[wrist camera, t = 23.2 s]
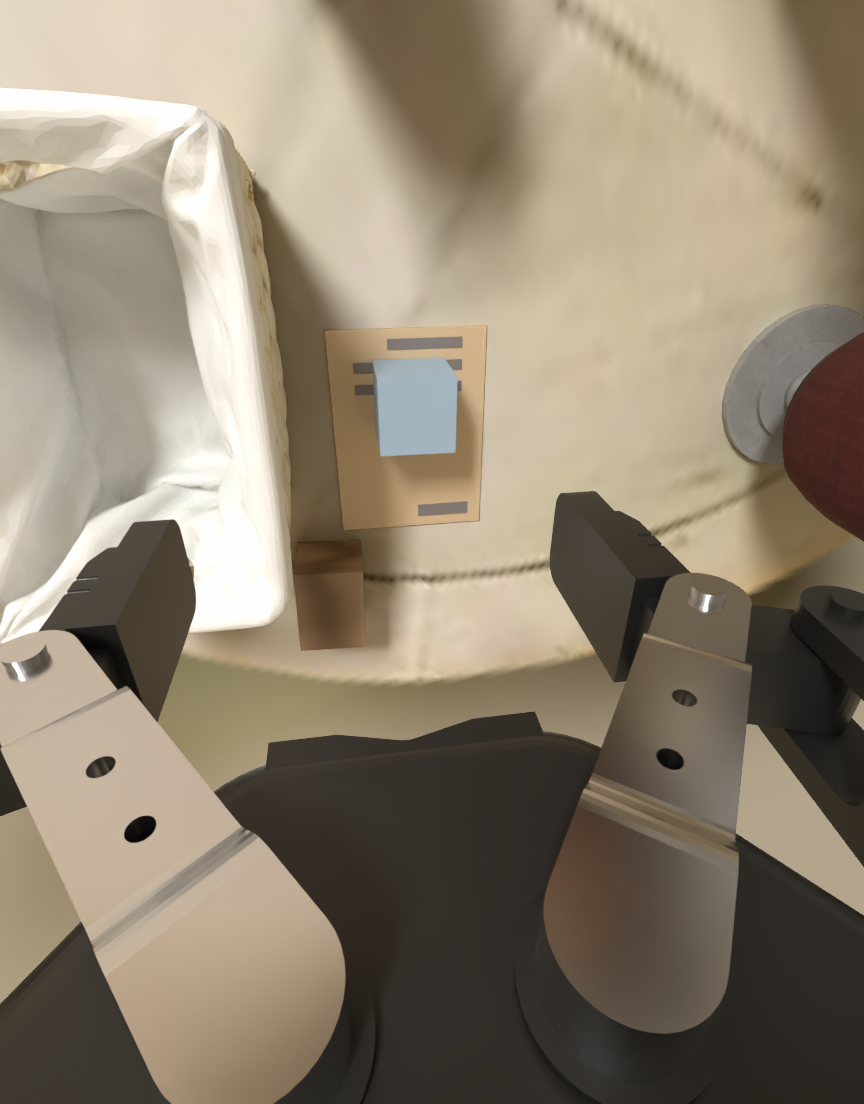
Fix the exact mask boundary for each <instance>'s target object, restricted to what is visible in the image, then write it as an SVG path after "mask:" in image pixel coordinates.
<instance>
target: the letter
mask: <svg viewBox="0 0 864 1104" xmlns="http://www.w3.org/2000/svg"><path fill="white" fill-rule="evenodd" d="M324 331H325V342H326V352H327V363H328V373H329V384H330V395H331V405H332V416H333V426H334V437H335V448H336V458H337V469H338V479H339V490H340V501H341V511H342V522H343V530H355V529H369V528H382V527H396V526H409V525H423V524H436V523H450V522H464V521H477V520H479V505H480V481H481V456H482V432H483V408H484V383H485V359H486V335H487V326H454V327H421V328H388V329H355V330H324ZM424 358H445V360H446V361H447V362H448V364H449V365H450V367H451V368H452V370H453V371H454V372H455V374H456V375H457V377H458V379H457V415H456V451H455V453H437V454H418V455H398V456H380V451H379V446H378V440H377V435H376V429H375V408H374V387H373V367H372V360H391V359H424Z"/></svg>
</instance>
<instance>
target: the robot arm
mask: <svg viewBox="0 0 864 1104" xmlns="http://www.w3.org/2000/svg"><path fill="white" fill-rule="evenodd" d="M550 569H551V575H552V578H553V581H554V583H555V585H556V587H557V588H558V590H559V592H560V593H561V595H562V596H563V598H564V600H565V601H566V603H567V605H568V606H569V608H570V610H571V611H572V613H573V615H574V616H575V618H576V620H577V621H578V623H579V625H580V626H581V628H582V630H583V631H584V633H585V635H586V636H587V638H588V640H589V641H590V643H591V645H592V646H593V648H594V650H595V651H596V653H597V655H598V656H599V658H600V660H601V661H602V663H603V664H604V666H605V668H606V670H607V671H608V673H609V675H610V676H611V678H612V680H613V681H614V682H621V681H626V683H625V685H624V688H623V691H622V694H621V696H620V699H619V702H618V704H617V707H616V710H615V713H614V715H613V718H612V721H611V724H610V726H609V729H608V732H607V734H606V737H605V740H604V743H603V745H602V748H600V747H598V746H596V745H594V744H591V743H589V742H586V741H583V740H581V739H577V738H574V737H571V736H567V735H563V734H558V733H552V732H544V731H542V728H541V726H540V723H539V721H538V719H537V716H536V714H535V712H527V713H519V714H510V715H501V716H493V717H484V718H476V719H471V720H468V721H465V722H462V723H459V724H456V725H453V726H450V727H447V728H444V729H442V730H439V731H436V732H433V733H430V734H427V735H424V736H421V737H418V738H415V739H412V740H391V739H379V738H378V739H377V738H367V737H356V736H344V735H331V736H323V737H315V738H307V739H297V740H289V741H280V742H273V743H269V745H268V754H267V762H266V765H264V766H262V767H259V768H256V769H254V770H252V771H249V772H247V773H245V774H243V775H241V776H239V777H237V778H235V779H233V780H231V781H230V782H228V783H226V784H224V785H223V786H221V787H220V788H219V789H218V790H216V791H214V792H213V791H212V790H211V788H210V787H209V786H208V785H207V784H206V782H205V781H204V780H203V779H202V777H201V776H200V775H199V774H198V772H197V771H196V770H195V769H194V767H193V766H192V765H191V764H190V763H189V761H187V759H186V758H185V756H184V755H183V754H182V753H181V751H180V750H179V749H178V748H177V746H176V745H175V744H174V743H173V741H172V740H171V739H170V738H169V736H168V735H167V734H166V733H165V732H164V730H163V729H162V728H161V727H160V725H159V724H158V723H157V722H158V719H159V716H160V713H161V710H162V707H163V704H164V701H165V698H166V696H167V693H168V690H169V687H170V684H171V681H172V678H173V675H174V672H175V669H176V667H177V664H178V661H179V658H180V655H181V652H182V649H183V646H184V643H185V641H186V638H187V635H188V632H189V629H190V626H191V623H192V620H193V617H194V614H195V610H196V591H195V585H194V581H193V577H192V573H191V569H190V565H189V561H188V557H187V553H186V549H185V546H184V542H183V538H182V534H181V530H180V527H179V525H178V523H177V522H176V521H175V520H174V519H171V520H156V521H142V522H134V523H133V524H132V525H131V527H130V528H129V530H128V531H127V533H126V534H125V536H124V537H123V539H122V540H121V542H120V544H119V545H118V547H112V548H107V549H106V550H104V551H103V552H101V553H100V554H98V555H97V556H95V557H94V558H93V559H91V560H90V561H88V562H87V563H86V565H85V566H84V568H83V569H82V570H81V572H80V573H79V575H78V576H77V577H76V581H74V582H73V583H72V585H71V586H70V587H69V589H68V590H67V594H64V596H63V597H62V599H61V600H60V602H59V603H58V604H57V606H56V607H55V609H54V610H53V611H52V613H51V614H50V616H49V617H48V619H47V620H46V621H45V623H44V624H43V626H42V627H41V628H40V630H39V631H38V632H33V633H29V634H26V635H22V636H20V637H17V638H14V639H12V640H9V641H7V642H5V643H3V644H1V645H0V816H2V815H5V814H8V813H10V812H13V811H16V810H19V809H21V808H24V807H28V809H29V811H30V813H31V815H32V818H33V820H34V822H35V824H36V826H37V828H38V830H39V832H40V835H41V837H42V839H43V841H44V843H45V845H46V847H47V849H48V852H49V854H50V856H51V858H52V860H53V862H54V864H55V866H56V869H57V870H58V873H59V875H60V877H61V879H62V881H63V883H64V885H65V887H66V890H67V892H68V894H69V896H70V898H71V900H72V903H73V905H74V907H75V909H76V911H77V913H78V915H79V917H80V919H81V922H80V923H79V924H78V925H77V926H76V927H75V928H74V930H73V931H72V932H71V933H70V934H69V935H68V936H67V937H66V938H65V939H64V940H63V941H62V942H61V943H60V944H59V945H58V946H57V947H56V948H55V949H54V950H53V951H52V952H51V953H50V954H49V955H48V956H47V957H46V958H45V959H44V960H43V961H42V962H41V963H40V964H39V965H38V966H37V967H36V968H35V969H34V970H33V971H32V972H31V973H30V974H29V975H28V976H27V977H26V978H25V979H24V980H23V981H22V983H21V984H20V985H19V986H18V987H17V988H16V989H15V990H14V991H13V992H12V993H11V994H10V995H9V996H8V997H7V998H6V999H5V1000H4V1001H3V1002H2V1003H1V1004H0V1104H864V915H862V914H860V913H859V912H857V911H856V910H854V909H853V908H851V907H849V906H848V905H846V904H845V903H843V902H842V901H840V900H839V899H837V898H835V897H834V896H832V895H831V894H829V893H828V892H826V891H825V890H823V889H822V888H820V887H818V886H817V885H815V884H814V883H812V882H811V881H809V880H807V879H806V878H804V877H803V876H801V875H800V874H798V873H797V872H795V871H793V870H792V869H790V868H789V867H787V866H786V865H784V864H783V863H781V862H780V861H778V860H777V859H775V858H773V857H772V856H770V855H769V854H767V853H766V852H764V851H763V850H761V849H759V848H758V847H756V846H755V845H753V844H752V843H750V842H749V841H747V840H745V839H744V838H742V837H741V836H739V835H738V834H736V823H737V813H738V804H739V794H740V783H741V774H742V763H743V754H744V744H745V734H746V725H747V724H754V725H758V726H759V728H760V729H761V731H762V732H763V733H764V735H765V736H766V737H767V739H768V740H769V741H770V743H771V744H772V745H773V747H774V748H775V749H776V751H777V752H778V753H779V755H780V756H781V757H782V759H783V760H784V761H785V763H786V764H787V765H788V767H789V768H790V769H791V771H792V772H793V773H794V774H795V776H796V777H797V779H798V780H799V781H800V783H801V784H802V785H803V786H804V788H805V789H806V791H807V792H808V793H809V795H810V796H811V797H812V799H813V800H814V801H815V802H816V804H817V805H818V807H819V808H820V809H821V811H822V812H823V813H824V815H825V816H826V817H827V819H828V820H829V821H830V823H831V824H832V825H833V827H834V828H835V829H836V831H837V832H838V833H839V835H840V836H841V837H842V839H843V840H844V841H845V843H846V844H847V845H848V847H849V848H850V849H851V851H852V852H853V853H854V855H855V856H856V857H857V859H858V860H859V861H860V863H861V864H862V865H863V867H864V730H863V729H862V728H861V727H860V726H859V725H858V724H857V723H856V722H855V721H854V720H853V719H852V716H853V714H854V712H855V710H856V708H857V706H858V704H859V702H860V700H861V699H862V700H863V701H864V594H862V593H860V592H856V591H853V590H850V589H845V588H841V587H834V586H815V587H810V588H808V589H806V590H804V591H803V592H802V593H801V596H800V598H799V601H798V603H797V606H796V608H795V610H791V609H781V608H772V607H762V606H754V605H751V600H750V597H749V596H748V595H747V593H746V592H745V591H744V590H742V589H741V588H740V587H738V586H737V585H735V584H733V583H731V582H729V581H727V580H725V579H722V578H719V577H716V576H712V575H708V574H701V573H690V572H689V571H688V570H687V569H686V568H685V567H684V566H683V565H682V564H681V563H680V562H679V561H678V560H677V559H676V558H675V557H674V556H673V555H672V554H671V553H670V552H669V551H668V550H667V549H666V548H665V547H664V546H661V543H660V542H659V541H658V540H657V539H656V538H655V537H654V536H651V533H650V532H649V531H648V530H647V529H646V528H645V527H644V526H643V525H642V524H641V523H640V522H639V521H638V520H636V519H634V518H632V517H630V516H628V515H626V514H624V513H622V512H620V511H614V510H613V509H612V508H611V507H610V506H609V505H608V504H607V503H606V502H605V501H604V500H603V499H602V498H601V496H600V495H599V494H598V493H597V492H595V491H589V492H574V493H561V494H560V495H559V496H558V498H557V502H556V507H555V516H554V525H553V533H552V542H551V550H550Z"/></svg>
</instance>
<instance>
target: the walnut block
mask: <svg viewBox="0 0 864 1104" xmlns="http://www.w3.org/2000/svg"><path fill="white" fill-rule="evenodd" d="M294 584H295V594H296V604H297V615H298V625H299V635H300V646H301V651H303V650H318V649H334V648H350V647H365V625H364V584H363V564H362V552H361V540H350V541H323V542H297V549H296V559H295V568H294Z"/></svg>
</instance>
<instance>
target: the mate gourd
mask: <svg viewBox="0 0 864 1104" xmlns="http://www.w3.org/2000/svg"><path fill="white" fill-rule="evenodd" d="M722 419H723V425H724V430H725V432H726V434H727V437H728V439H729V441H730V442H731V443H732V445H733V446H734V447H735V448H736V450H738V451H739V452H741V453H742V454H743V455H745V456H746V457H748V458H750V459H752V460H755V461H758V462H760V463H766V464H783V463H784V466H785V468H786V471H787V473H788V476H789V478H790V479H791V481H792V482H793V483H794V485H795V486H796V487H797V488H798V490H799V491H800V492H801V493H802V494H803V496H804V497H805V498H806V499H807V500H808V501H809V502H810V503H811V504H812V505H813V506H814V507H815V508H816V509H817V510H819V511H820V512H821V513H822V514H823V515H824V516H825V517H826V518H828V519H829V520H831V521H832V522H834V523H835V524H837V525H838V526H840V527H841V528H843V529H845V530H846V531H848V532H849V533H851V534H853V535H854V536H856V537H858V538H859V539H861V540H862V541H864V318H863V317H862V316H861V315H860V314H858V313H856V312H854V311H852V310H850V309H848V308H844V307H838V306H833V305H814V306H809V307H806V308H802V309H799V310H796V311H794V312H792V313H790V314H788V315H786V316H784V317H782V318H780V319H779V320H777V321H776V322H774V323H773V324H772V325H770V326H769V327H767V328H766V329H765V330H764V331H763V332H762V333H761V334H760V335H759V336H758V337H757V338H755V339H754V340H753V341H752V343H751V344H750V345H749V346H748V348H747V349H746V350H745V351H744V353H743V354H742V355H741V357H740V359H739V360H738V362H737V364H736V365H735V367H734V369H733V371H732V373H731V375H730V378H729V380H728V383H727V385H726V389H725V393H724V398H723V403H722Z"/></svg>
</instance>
